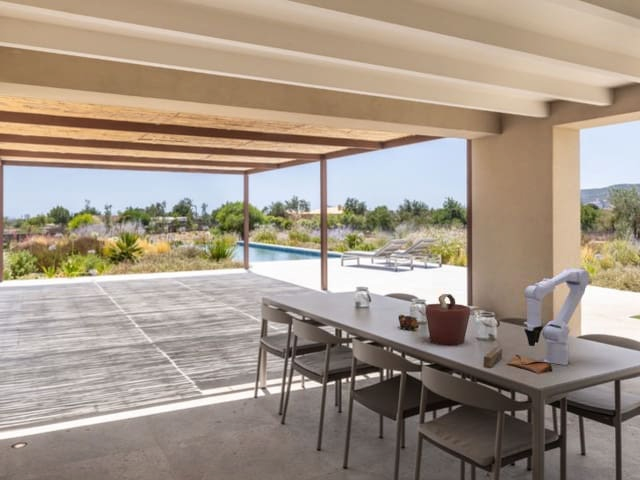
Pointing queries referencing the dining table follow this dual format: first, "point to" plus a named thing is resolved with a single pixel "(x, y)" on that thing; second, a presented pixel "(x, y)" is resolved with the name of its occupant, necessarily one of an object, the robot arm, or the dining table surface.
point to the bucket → (447, 321)
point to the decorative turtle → (407, 322)
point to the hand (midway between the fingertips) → (533, 344)
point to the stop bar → (492, 357)
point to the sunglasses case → (530, 364)
